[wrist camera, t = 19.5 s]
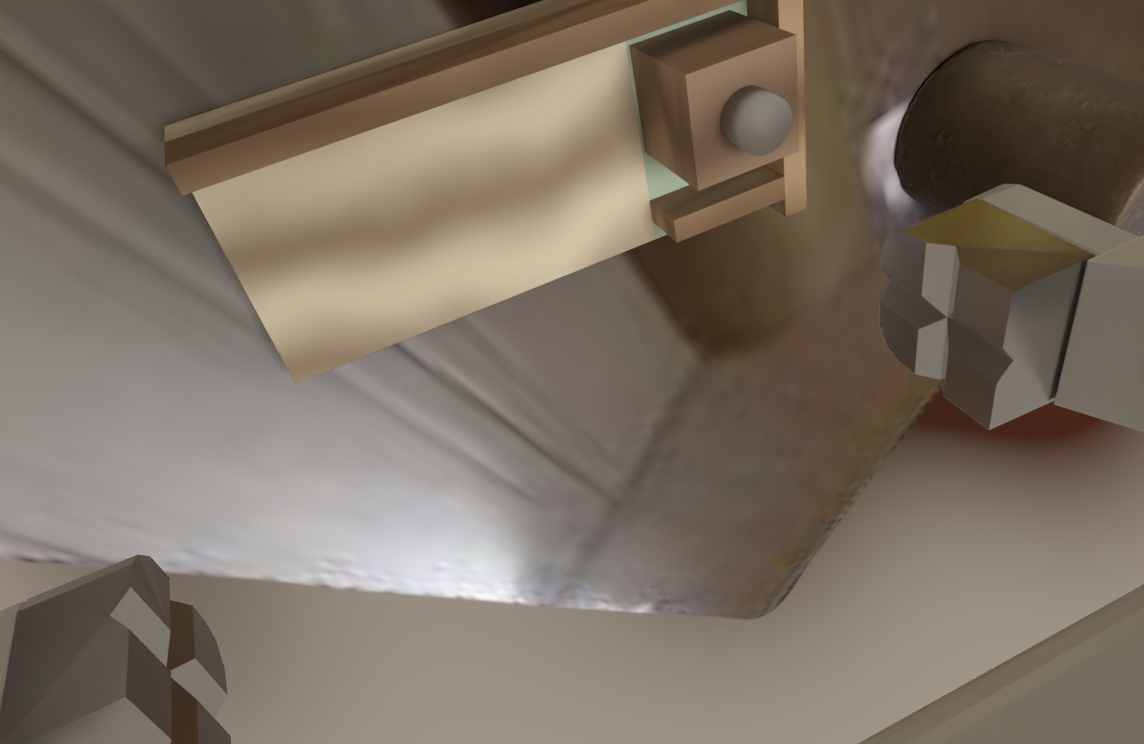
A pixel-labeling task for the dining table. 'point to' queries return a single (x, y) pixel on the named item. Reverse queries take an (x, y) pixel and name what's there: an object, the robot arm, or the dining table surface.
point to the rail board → (455, 174)
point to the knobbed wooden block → (717, 97)
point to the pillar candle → (1026, 133)
